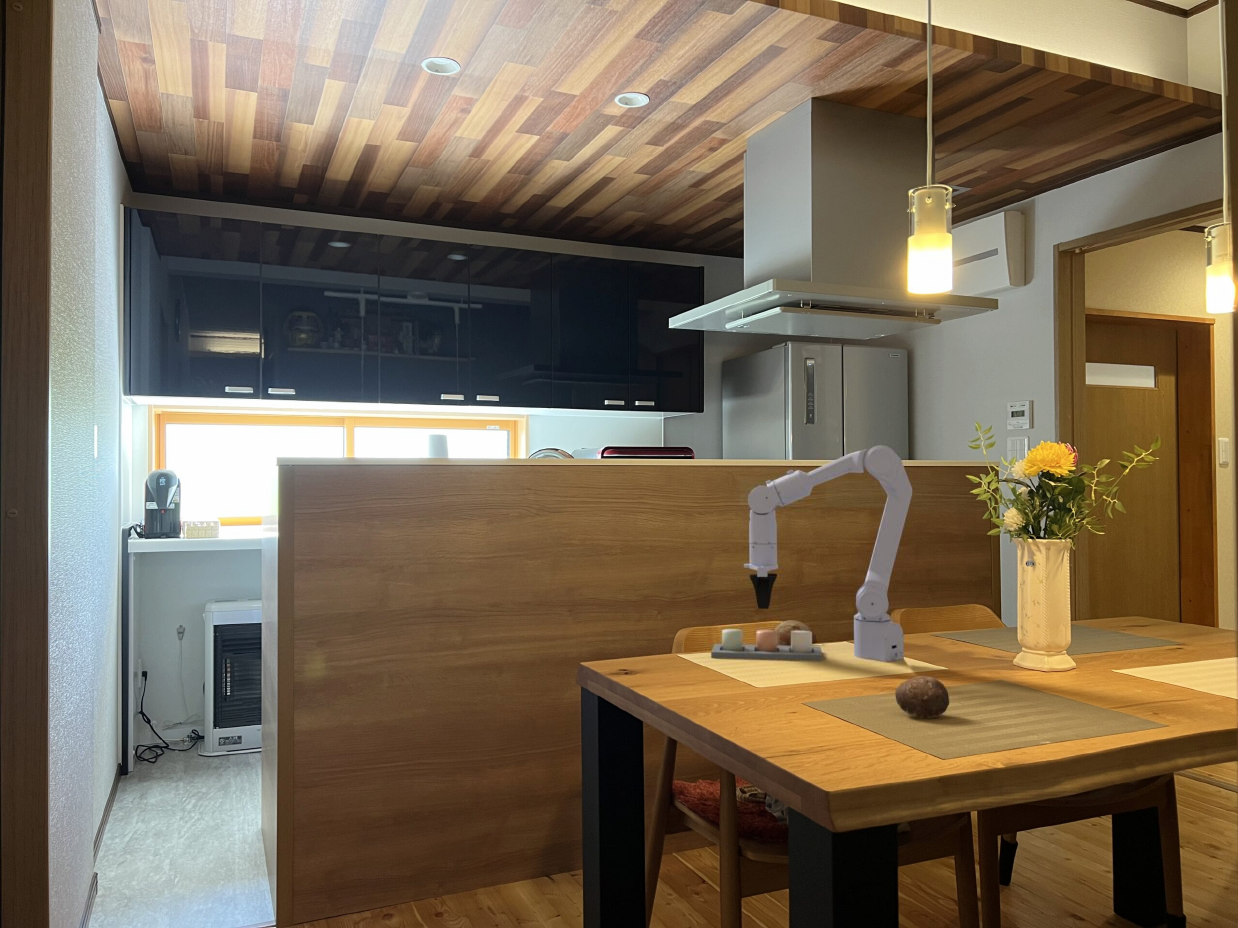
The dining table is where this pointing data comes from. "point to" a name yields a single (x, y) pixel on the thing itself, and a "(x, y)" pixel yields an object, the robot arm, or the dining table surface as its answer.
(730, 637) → the button sage
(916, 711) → the brown rough oval lump
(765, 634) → the button terracotta
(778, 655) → the grey rectangular tray
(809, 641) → the button ivory
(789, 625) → the bread roll
